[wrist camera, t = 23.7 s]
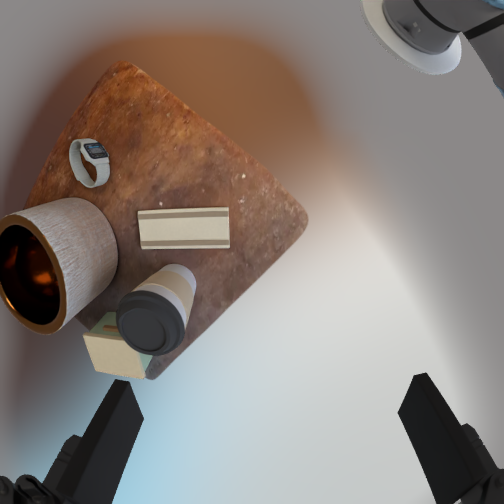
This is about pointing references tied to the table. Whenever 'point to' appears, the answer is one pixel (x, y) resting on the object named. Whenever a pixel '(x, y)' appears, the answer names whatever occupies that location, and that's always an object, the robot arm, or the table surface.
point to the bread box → (114, 350)
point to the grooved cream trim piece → (184, 228)
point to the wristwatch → (92, 154)
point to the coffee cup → (157, 311)
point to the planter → (55, 261)
